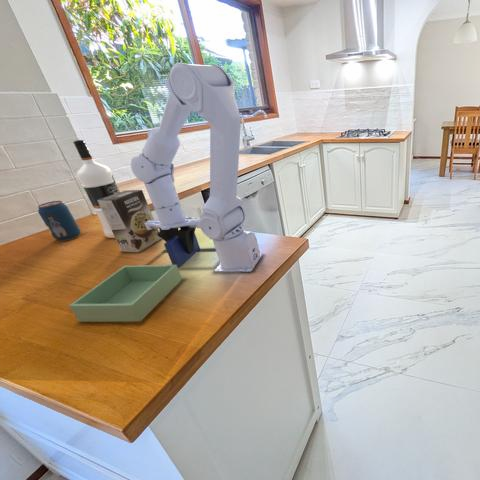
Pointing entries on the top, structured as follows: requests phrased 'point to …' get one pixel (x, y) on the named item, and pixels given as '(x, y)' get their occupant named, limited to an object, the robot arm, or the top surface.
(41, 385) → the top surface
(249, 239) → the robot arm
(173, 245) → the blue flat block
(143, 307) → the bin
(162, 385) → the top surface
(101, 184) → the vodka
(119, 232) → the coffee box
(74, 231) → the soda can
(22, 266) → the top surface
